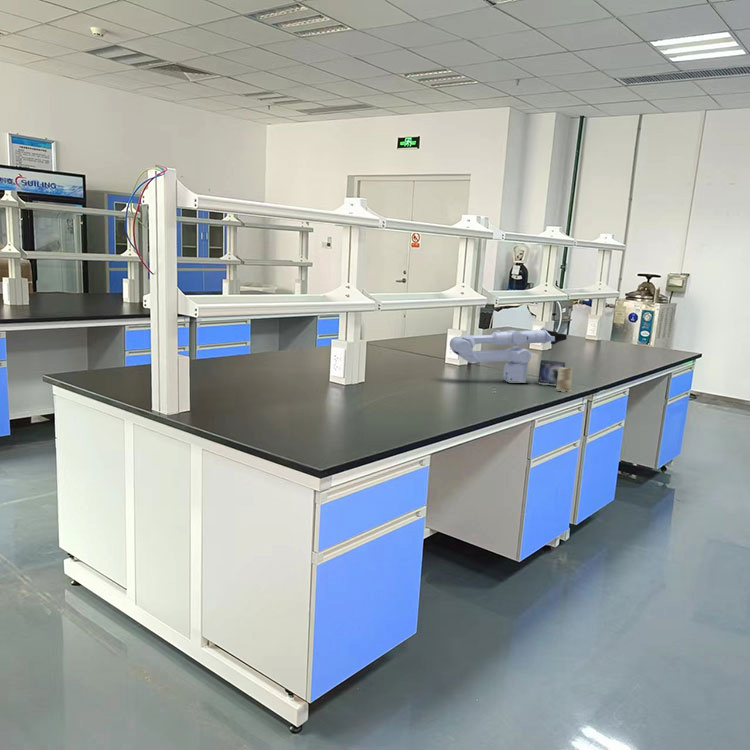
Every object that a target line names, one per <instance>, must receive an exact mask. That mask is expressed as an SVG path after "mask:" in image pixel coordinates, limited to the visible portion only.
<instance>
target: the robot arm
mask: <svg viewBox="0 0 750 750" xmlns="http://www.w3.org/2000/svg"><path fill="white" fill-rule="evenodd" d="M567 337H568V335H567V334H565V333H559V332H558V331H553V330H548V329H546V327H543V326H542V328H541V329H539V330H538V329H536V330H535V329H533V330H519V331H516V330H514V329H510V330H509V329H508V330H507V331H501V330H499V329H496V331H493V332H492V333H491V334H487V335H486V334H480V335H479V334H478V335H477V334H476V335H474V334H473V335H471V334H470V335H461V336H455V337H454V336H453V337H452V338H451V340H450V341H449V347H450V350H451V351H452V352H453V353H454V354H455V355H456V356H458V357H460V358H462V359H463V360H464V361H466V362H468V363H471V364H474V363H491V362H493V363H494V362H505V364H504V367H503V373H502V374H503V375H502V376H503V377H502V379H503V378H504V379H506V380H508V381H519V382H524V381H526V378H527V371H528V370H527V369H528V362H530V360H531V358H532V353H531V351H530V350H529V349H527V348H523V347H520V346H521V345H522V344H524V345H527V344H547V343H549V342H550V345H556V344H557V343H560V342H562V341H565V340H567ZM491 343H492V345H494V346H505V345H507V346H508V345H515V346H512V347H511V348H506V349H493V350H492V349H491V350H475V351H474V349H473V348H474V347H475V346H476V345H479V344H491ZM526 382H527V381H526Z"/></svg>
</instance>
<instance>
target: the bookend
mask: <svg viewBox="0 0 750 750" xmlns="http://www.w3.org/2000/svg"><path fill="white" fill-rule="evenodd" d="M573 373H574V368H573V367H565V368H559V370H558V378H557V386H556V387H555V390H556V389H562V390H565V391H572V392H573V390H572V389H571V388H572V381H573V380H572V379H573Z"/></svg>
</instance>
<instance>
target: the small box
mask: <svg viewBox="0 0 750 750" xmlns="http://www.w3.org/2000/svg"><path fill="white" fill-rule="evenodd" d="M559 368H566V362H563V361H557V360H556V361H555V360H549V359H547V360H546V359H541V360H540V364H539V373H538V374H539V375H538V381H537V383H538V382H540V383H549V384H556V385H557V378H558V370H559Z"/></svg>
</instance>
